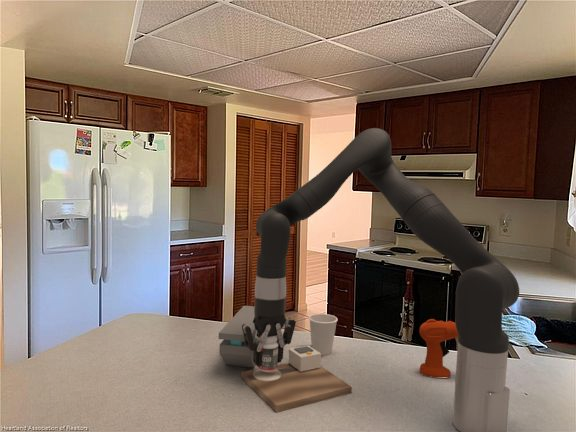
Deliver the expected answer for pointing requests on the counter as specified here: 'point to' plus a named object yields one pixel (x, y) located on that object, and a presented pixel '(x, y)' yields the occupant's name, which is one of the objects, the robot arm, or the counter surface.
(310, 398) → the wooden board
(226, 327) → the gray lidded box
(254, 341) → the robot arm
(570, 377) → the counter surface
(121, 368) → the counter surface
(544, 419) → the counter surface
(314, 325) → the dixie cup
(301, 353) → the white small box
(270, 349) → the pill bottle
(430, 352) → the toy drill
